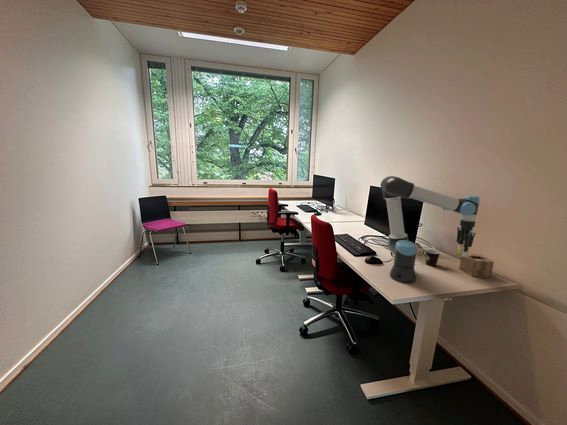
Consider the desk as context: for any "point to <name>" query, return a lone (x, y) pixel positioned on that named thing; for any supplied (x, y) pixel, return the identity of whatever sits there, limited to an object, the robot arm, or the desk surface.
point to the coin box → (476, 265)
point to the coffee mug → (431, 257)
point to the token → (461, 251)
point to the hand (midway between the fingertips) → (461, 254)
